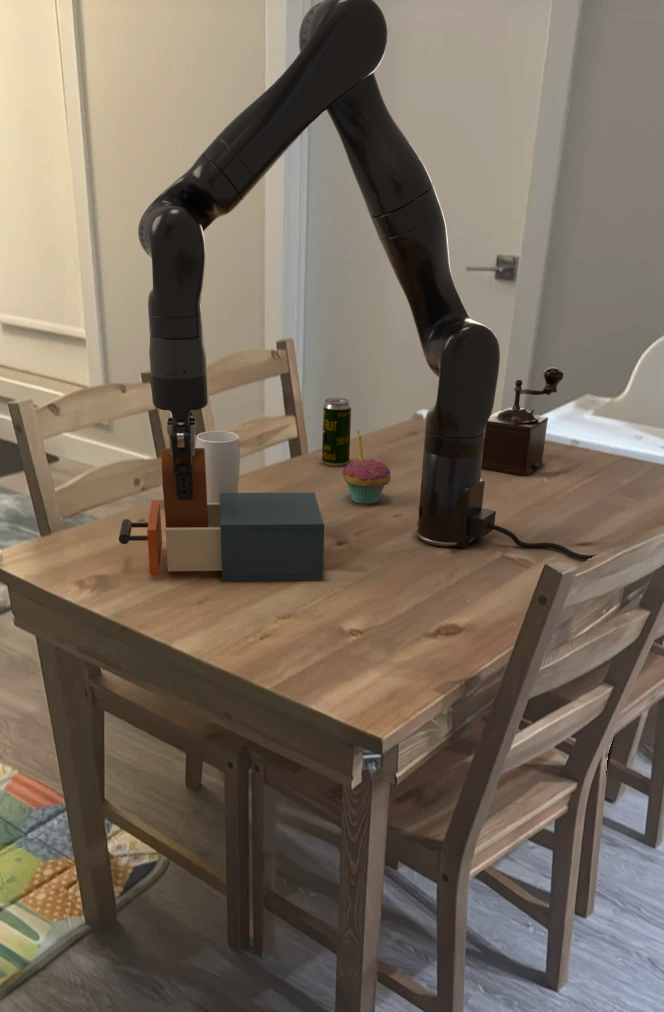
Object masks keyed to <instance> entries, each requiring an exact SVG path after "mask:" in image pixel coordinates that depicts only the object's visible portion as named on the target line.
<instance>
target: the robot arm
mask: <svg viewBox="0 0 664 1012" xmlns="http://www.w3.org/2000/svg"><path fill="white" fill-rule="evenodd" d="M387 45H388V26H387V21H386V18H385V15H384V13H383V10H382V9H381V7H380V6H379V5H378V4H377V3H376V1H374V0H321V1H319V2H318V3H316V4H314V5H313V6H312V7H310V9H308V11H307V12H306V13H305V15H304V17H303V18H302V21H301V23H300V27H299V32H298V50H299V54H298V55H297V56H296V57H295V59H294V60H293V62H292V63H291V64H290V65H289V66H288V67H287V68H286V70H285V71H284V72H283V73H282V74H281V75H280V77H278V79H276V80H275V82H273V84H272V85H271V86H270V87H269V88H267V90H265V91H264V92H263V93H262V94H260V95H259V97H257V98H256V99H255V100H254V101H253V102H251V103H250V104H249V105H248V106H247V107H246V108H244V109H243V111H241V112H240V113H239V114H238V115H237V116H236V117H234V119H232V120H231V121H230V122H229V123H228V124H227V126H225V127H224V128H223V129H222V130H221V132H220V133H219V134H217V136H216V137H215V138H214V139H213V140H212V142H211V143H210V144H209V145H208V146H207V147H206V149H204V151H203V152H202V153H201V154H200V155H199V156H198V158H197V159H196V160H195V161H194V162H193V164H192V165H191V166H190V168H189V169H188V170H187V171H186V172H185V173H183V174H182V175H181V176H180V177H178V178H177V179H176V180H175V181H174V182H173V183H172V184H170V186H168V187H167V188H166V189H164V190H163V191H162V192H161V193H160V194H159V195H158V196H157V197H156V198H155V199H154V200H153V201H152V202H151V203H150V204H149V206H148V207H147V208H146V209H145V211H143V214H142V216H141V218H140V220H139V223H138V229H137V235H138V236H137V237H138V241H139V244H140V246H141V248H142V250H143V251H144V252H145V253H146V255H147V256H149V258H151V269H152V270H151V271H152V272H151V274H152V289H151V290H150V291H149V294H148V298H147V309H148V310H147V313H148V314H147V315H148V316H147V317H148V327H149V328H148V329H149V347H148V348H149V351H148V357H149V366H150V367H149V371H150V385H151V398H152V404H153V406H154V407H155V408H156V409H159V410H160V411H169V412H171V417H167V418H166V419H167V422H166V433H167V435H168V437H169V439H168V440H169V441H168V442H169V448H170V454H171V456H172V457H173V465H174V467H173V471H174V473H175V474H176V488H177V498H178V499H179V500H191V499H192V498H193V488H192V471H193V467H192V457H193V456H194V455H195V448H196V436H197V417H193V411H198V410H202V409H204V408H205V407H207V405H208V403H209V396H208V395H209V394H208V373H207V372H208V371H207V351H206V347H205V340H204V325H203V324H204V323H203V322H204V321H203V308H202V307H203V306H202V293H203V292H202V291H203V288H204V287H203V286H204V277H205V267H206V266H205V265H206V241H205V240H206V239H205V234H204V233H205V231H206V230H207V229H208V227H210V225H211V224H212V223H213V222H215V220H217V219H218V218H220V217H223V216H227V215H229V213H231V212H232V211H234V210H235V209H236V207H238V206H239V204H241V202H242V201H243V200H244V199H245V198H246V197H247V195H248V194H249V193H251V191H252V190H254V188H255V187H256V185H258V184H259V182H261V180H262V179H263V178H264V177H265V175H266V174H268V172H269V171H270V169H271V168H272V167H274V165H275V164H276V163H277V162H278V161H279V160H280V159H281V157H282V156H283V155H284V154H285V152H286V151H288V149H289V148H290V147H291V146H292V145H293V144H294V142H296V140H297V139H298V138H299V137H300V136H301V135H302V134H303V133H304V132H305V131H306V130H307V129H308V128H309V127H310V126H311V125H312V124H313V123H314V122H315V121H316V120H317V119H318V118H319V117H321V115H322V114H323V113H325V112H327V113H328V116H329V117H330V119H331V121H332V123H333V125H334V127H335V130H336V131H337V135H338V136H339V138H340V141H341V144H342V146H343V148H344V152H345V154H346V157H347V160H348V162H349V165H350V168H351V171H352V173H353V175H354V178H355V180H356V182H357V186H358V188H359V191H360V193H361V195H362V198H363V201H364V204H365V206H366V209H367V213H368V215H369V216H370V220H371V222H372V225H373V227H374V229H375V232H376V234H377V237H378V239H379V242H380V244H381V246H382V248H383V251H384V252H385V255H386V257H387V259H388V261H389V264H390V266H391V268H392V270H393V273H394V275H395V277H396V279H397V281H398V283H399V285H400V287H401V289H402V291H403V293H404V295H405V298H406V300H407V303H408V306H409V308H410V311H411V315H412V318H413V321H414V325H415V329H416V333H417V335H418V339H419V342H420V346H421V349H422V353H423V356H424V359H425V361H426V364H427V365H428V367H429V369H430V370H431V371H432V372H433V374H434V375H435V376H437V378H438V385H437V393H436V401H435V404H434V406H433V407H431V408H429V409H428V410H427V413H426V417H425V429H424V441H423V456H422V468H421V480H420V492H419V493H420V494H419V504H418V507H417V508H418V509H417V511H418V517H417V529H416V538H418V540H420V541H421V542H423V543H426V544H428V545H433V546H438V547H443V548H444V547H445V548H460V549H465V548H466V547H467V546H469V545H470V544H471V543H473V542H474V541H476V540H477V539H478V540H479V539H480V540H481V539H483V538H484V537H486V536H487V535H488V534H490V533H491V532H493V531H496V532H499V533H501V534H503V535H506V536H508V537H509V538H511V540H512V541H513V542H514V543H515V545H517V546H519V547H521V548H525V549H541V548H548V549H549V548H550V549H553V550H556V551H557V550H558V551H561V552H562V553H563V554H566V555H567V556H570V557H571V558H574V559H578V560H581V561H582V560H583V561H588V560H587V559H589V558H592V557H593V556H595V555H596V554H582V553H578V552H575V551H573V550H571V549H569V548H567V547H566V546H563V545H560V544H558V543H553V542H533V543H532V542H531V543H530V542H525V541H521V540H520V539H519V538H518V537H517V535H516V534H515V533H514V532H512V531H510V529H509V530H508V529H506V528H504V527H501V526H499V525H497V524H495V523H496V513H497V511H496V510H494V509H489V508H484V507H483V503H484V493H485V485H486V484H485V483H486V482H485V480H484V479H482V478H481V476H482V469H483V468H482V458H483V449H484V440H485V432H486V424H487V421H488V419H489V418H490V416H491V415H492V414H493V413H492V412H493V411H494V405H495V398H496V391H497V385H498V378H499V371H500V363H501V350H500V343H499V340H498V338H497V335H496V334H495V333H494V331H492V330H491V329H490V328H489V327H488V326H486V325H485V324H482V323H481V322H477V321H476V320H473V319H472V317H471V316H470V315H469V312H468V311H467V309H466V307H465V305H464V303H463V300H462V298H461V295H460V294H459V291H458V289H457V287H456V284H455V282H454V278H453V275H452V270H451V263H450V253H449V240H448V229H447V224H446V220H445V216H444V213H443V209H442V206H441V202H440V201H439V198H438V195H437V191H436V189H435V186H434V184H433V182H432V179H431V176H430V174H429V172H428V170H427V168H426V166H425V164H424V163H423V161H422V159H421V157H420V156H419V154H418V153H417V151H416V149H414V147H413V146H412V144H411V143H410V141H409V140H408V139H407V137H406V136H405V135H404V133H403V131H402V130H401V128H399V126H398V125H397V123H396V121H395V120H394V119H393V117H392V115H391V113H390V112H389V109H388V107H387V105H386V103H385V101H384V98H383V96H382V93H381V89H380V87H379V85H378V81H377V77H376V75H375V73H374V72H375V71H376V70H377V69H378V67H379V66H380V64H381V62H382V61H383V59H384V56H385V53H386V51H387ZM178 458H186V459H187V460H188V464H178ZM615 739H616V735H615V736H614V738H613V741H612V744H611V747H610V750H609V753H608V760H607V771H606V778H607V776H608V771H609V766H610V761H611V756H612V751H613V747H614V744H615V743H614V742H615Z"/></svg>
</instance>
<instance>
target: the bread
mask: <svg viewBox="0 0 664 1012" xmlns="http://www.w3.org/2000/svg"><path fill="white" fill-rule="evenodd" d="M160 458H161V459H160V460H161V478H162V490H163V491H162V492H163V494H162V495H163V506H164V520H165V521H164V522H165V529H166V528H191V527H208V508H207V486H206V465H205V448H196V447H195V455H194V456H193V457H192V467H193V471H192V488H193V498H192V499H191V500H179V499H178V498H177V488H176V474H175V473H174V471H173V467H174V465H173V457H172V456H171V454H170V447H169V448H167V447H166V448H161V452H160ZM178 464H188V460H187V459H186V458H178Z"/></svg>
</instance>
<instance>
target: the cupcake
mask: <svg viewBox="0 0 664 1012" xmlns="http://www.w3.org/2000/svg"><path fill="white" fill-rule="evenodd" d="M356 437H357V447H358V448H357V449H358V457H359V459H355V460H352V461H351V462H348V464H347V465H345V466H343V469H342V470H341V472H342V473H341V475H342V477H343V480H344V482H345V483H346V484H347V487H348V489H349V490H348V491H349V493H350V496H351V500H352V501H353V502H355V503H357V504H361V505H372V504H376V503H378V502H379V500H380V497H381V495H382V492H383V490H384V487H385V486H387V485H389V484H390V481H391V478H392V474H391V473H392V471H391V470H390V468H389V467H388V465H386V464H384V463H383V462H382V461H379V460H376V459H372V458H369V459H367V458H366V459H365V458H364V452H363V441H362V435H361V434H360V431H359V429H357V436H356Z"/></svg>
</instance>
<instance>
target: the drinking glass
mask: <svg viewBox="0 0 664 1012" xmlns="http://www.w3.org/2000/svg"><path fill="white" fill-rule="evenodd" d="M195 448H205V465H206V486H207V503H220V493H239V482H240V469H241V468H240V466H241V450H240V449H241V448H240V436H239V435H238V434H237V433H235V432H232V431H227V430H208V431H203V432H200V433H198V434H196V435H195Z"/></svg>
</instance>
